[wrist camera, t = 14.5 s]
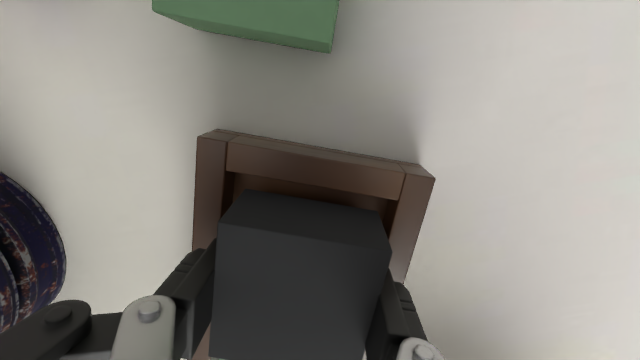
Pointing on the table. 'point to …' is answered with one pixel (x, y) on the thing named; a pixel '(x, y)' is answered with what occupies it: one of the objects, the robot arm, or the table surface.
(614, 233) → the table surface
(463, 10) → the table surface
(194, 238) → the divided wooden tray
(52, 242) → the navy oil drum
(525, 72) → the table surface
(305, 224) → the charcoal pad
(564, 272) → the table surface
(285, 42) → the sage pad
